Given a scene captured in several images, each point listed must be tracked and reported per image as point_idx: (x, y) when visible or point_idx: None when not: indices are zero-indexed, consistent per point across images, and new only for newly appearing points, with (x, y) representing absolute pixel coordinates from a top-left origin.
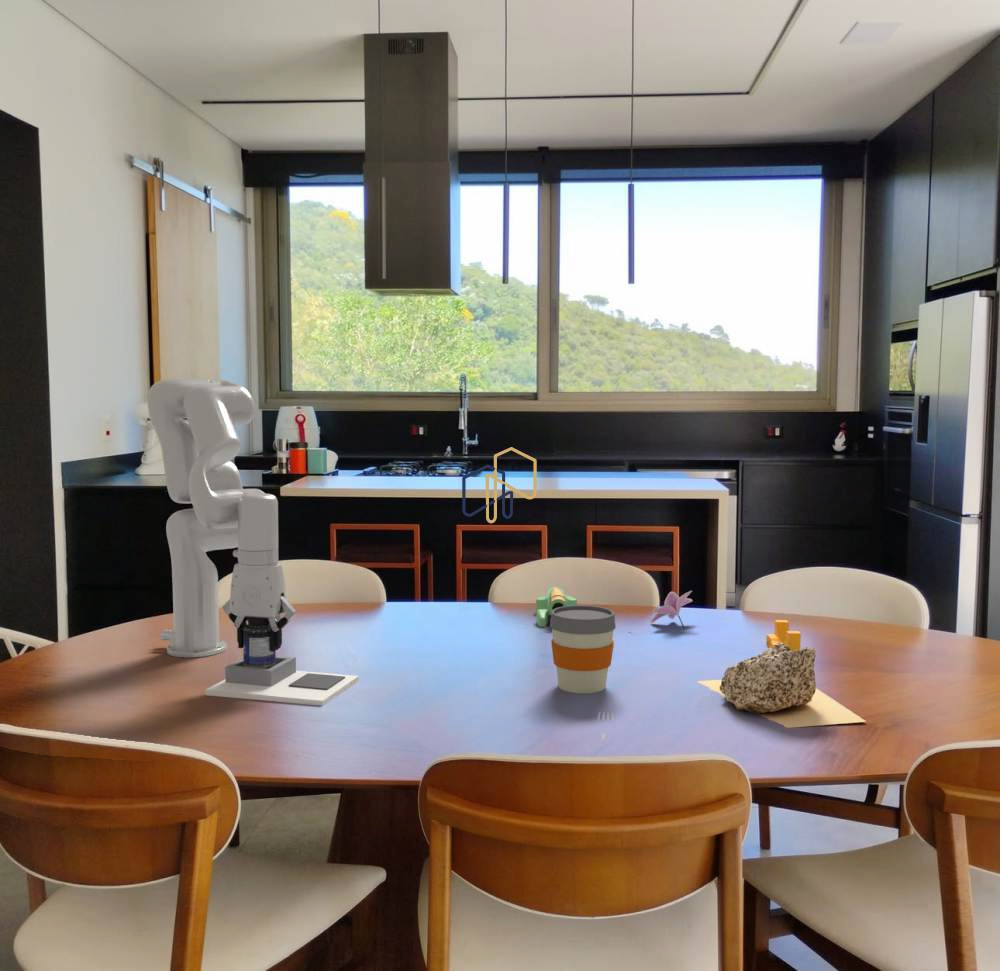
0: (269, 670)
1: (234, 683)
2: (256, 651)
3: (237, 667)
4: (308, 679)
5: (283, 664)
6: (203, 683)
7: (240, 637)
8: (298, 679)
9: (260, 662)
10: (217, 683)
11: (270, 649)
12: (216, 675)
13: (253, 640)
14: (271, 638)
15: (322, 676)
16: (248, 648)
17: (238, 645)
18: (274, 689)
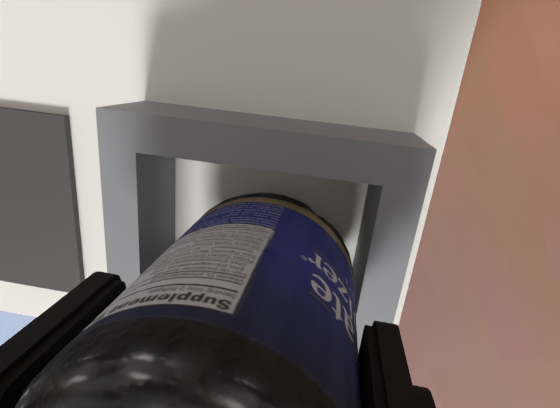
0: (111, 117)
1: (355, 120)
2: (205, 242)
3: (343, 149)
4: (30, 212)
5: (107, 252)
6: (557, 191)
7: (386, 390)
8: (69, 207)
9: (207, 215)
10: (453, 102)
11: (109, 279)
12: (524, 313)
13: (190, 287)
14: (30, 335)
15: (2, 259)
16: (271, 259)
17: (398, 335)
18: (104, 52)
